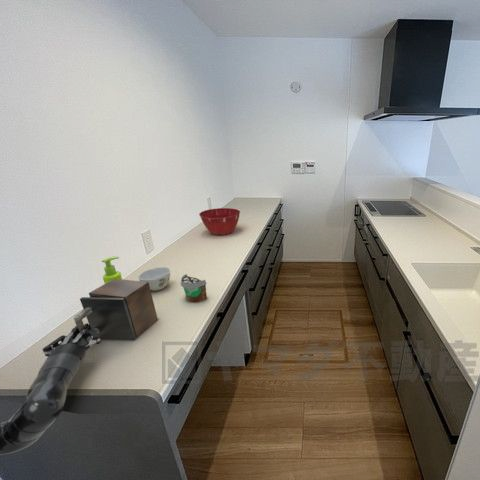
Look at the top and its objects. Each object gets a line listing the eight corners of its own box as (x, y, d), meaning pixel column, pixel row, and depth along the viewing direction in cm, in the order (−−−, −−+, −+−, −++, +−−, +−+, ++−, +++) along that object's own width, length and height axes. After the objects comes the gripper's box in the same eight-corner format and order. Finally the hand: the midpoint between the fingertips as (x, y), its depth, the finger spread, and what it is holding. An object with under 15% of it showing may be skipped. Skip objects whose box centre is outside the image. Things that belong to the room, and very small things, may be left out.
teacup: (154, 280, 130) (151, 266, 127) (178, 282, 128) (175, 267, 126) (131, 297, 116) (126, 281, 113) (158, 299, 114) (154, 283, 112)
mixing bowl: (247, 227, 210) (245, 208, 205) (233, 239, 184) (230, 218, 178) (213, 225, 213) (211, 207, 207) (194, 237, 186) (191, 216, 181)
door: (123, 352, 86) (109, 309, 80) (81, 351, 86) (64, 308, 80) (136, 338, 92) (124, 297, 86) (97, 337, 92) (82, 297, 86)
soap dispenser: (133, 298, 115) (121, 257, 108) (116, 307, 109) (103, 263, 102) (125, 295, 117) (113, 254, 110) (108, 303, 111) (94, 260, 104)
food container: (177, 300, 114) (173, 279, 111) (189, 293, 119) (185, 273, 116) (197, 307, 109) (193, 286, 106) (209, 299, 114) (205, 279, 111)
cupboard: (137, 338, 92) (125, 297, 86) (102, 333, 94) (88, 293, 88) (158, 320, 101) (148, 281, 95) (126, 316, 103) (114, 278, 97)
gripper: (32, 385, 69) (59, 342, 83) (97, 367, 74) (112, 330, 89) (21, 363, 66) (51, 322, 81) (89, 346, 72) (106, 311, 86)
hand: (83, 326), depth 85 cm, fingers closed on door
